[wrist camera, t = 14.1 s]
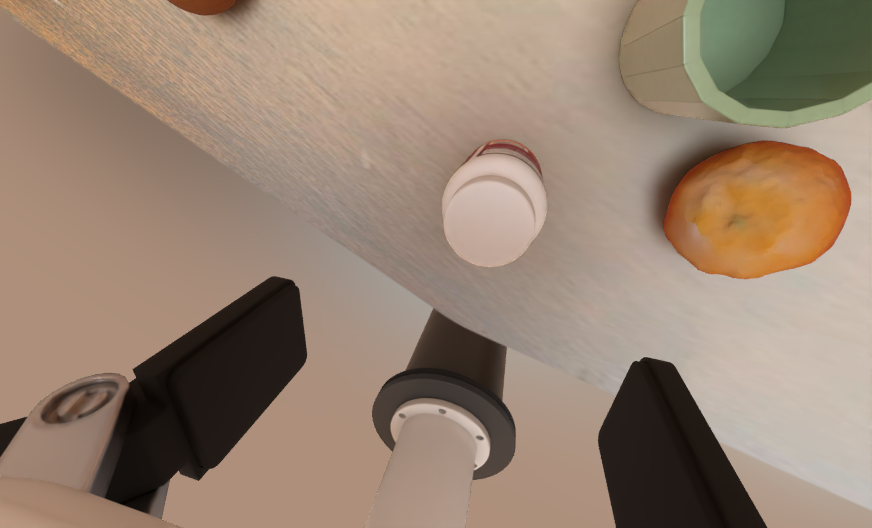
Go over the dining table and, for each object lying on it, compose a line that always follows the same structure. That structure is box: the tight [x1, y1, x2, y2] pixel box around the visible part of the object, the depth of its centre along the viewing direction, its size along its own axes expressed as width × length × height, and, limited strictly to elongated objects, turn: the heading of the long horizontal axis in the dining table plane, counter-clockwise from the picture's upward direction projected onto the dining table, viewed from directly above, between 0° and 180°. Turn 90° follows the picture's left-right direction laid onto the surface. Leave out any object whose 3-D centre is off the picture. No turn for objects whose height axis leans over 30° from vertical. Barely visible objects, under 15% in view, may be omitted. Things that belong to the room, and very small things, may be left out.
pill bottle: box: [442, 140, 547, 267], centre depth 21 cm, size 6×6×11 cm
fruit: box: [663, 141, 851, 279], centre depth 20 cm, size 8×8×8 cm
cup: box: [619, 0, 872, 128], centre depth 15 cm, size 8×8×10 cm
